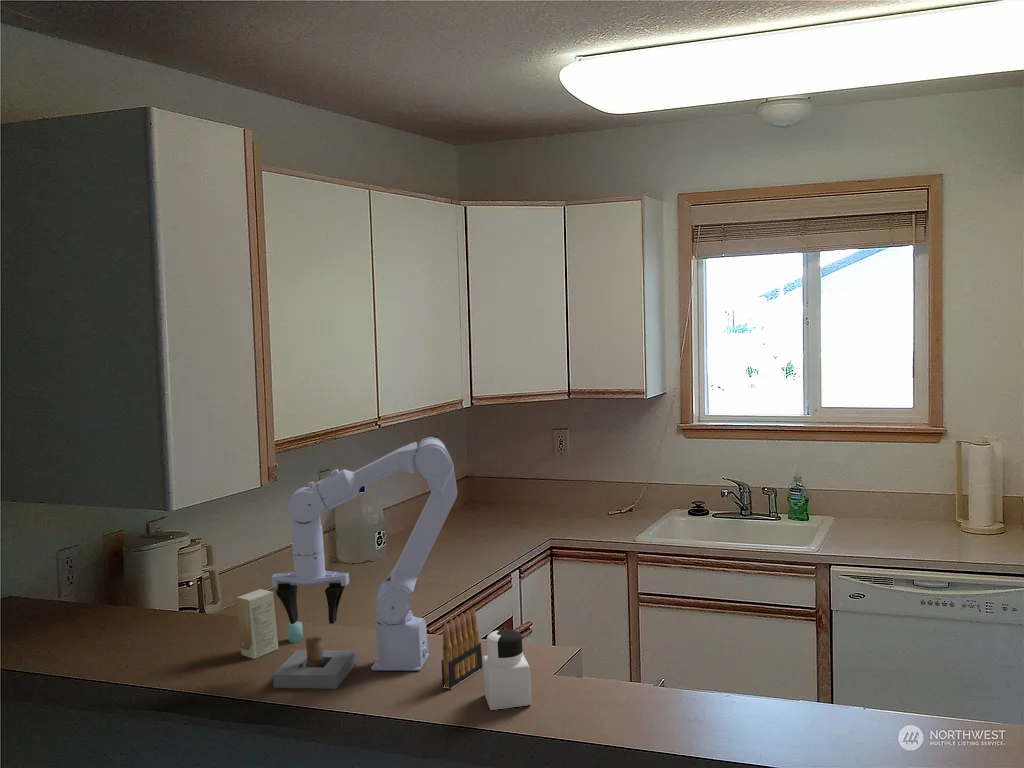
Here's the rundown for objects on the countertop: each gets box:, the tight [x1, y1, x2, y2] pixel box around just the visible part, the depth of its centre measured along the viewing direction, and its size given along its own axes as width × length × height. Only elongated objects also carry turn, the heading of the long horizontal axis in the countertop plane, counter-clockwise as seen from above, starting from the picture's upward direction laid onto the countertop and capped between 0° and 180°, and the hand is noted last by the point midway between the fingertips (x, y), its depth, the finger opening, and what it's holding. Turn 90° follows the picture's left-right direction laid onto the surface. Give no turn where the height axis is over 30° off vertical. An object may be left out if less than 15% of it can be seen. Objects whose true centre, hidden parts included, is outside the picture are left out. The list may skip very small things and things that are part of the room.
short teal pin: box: [286, 621, 304, 644], centre depth 199 cm, size 3×3×4 cm
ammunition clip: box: [441, 607, 483, 688], centre depth 174 cm, size 11×2×12 cm, turn 149°
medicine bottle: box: [482, 628, 532, 711], centre depth 163 cm, size 7×7×12 cm
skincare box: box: [236, 588, 279, 660], centre depth 192 cm, size 6×4×12 cm
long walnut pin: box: [305, 635, 324, 668], centre depth 179 cm, size 3×3×7 cm
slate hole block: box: [272, 649, 358, 690], centre depth 179 cm, size 12×12×2 cm
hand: (313, 622), depth 181 cm, fingers open, 7 cm apart
